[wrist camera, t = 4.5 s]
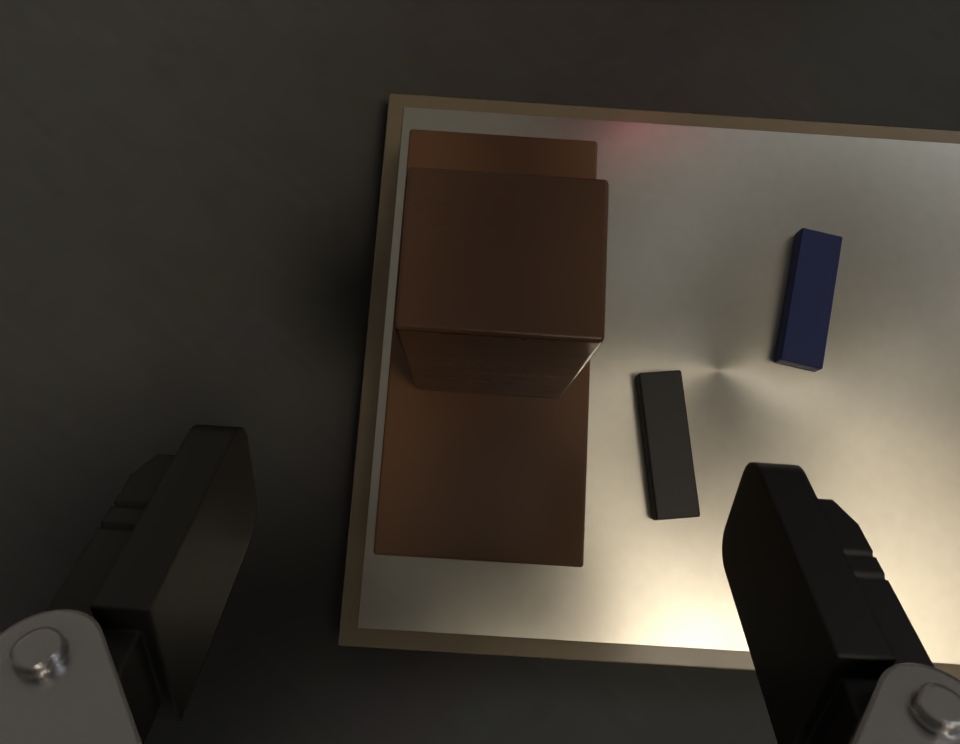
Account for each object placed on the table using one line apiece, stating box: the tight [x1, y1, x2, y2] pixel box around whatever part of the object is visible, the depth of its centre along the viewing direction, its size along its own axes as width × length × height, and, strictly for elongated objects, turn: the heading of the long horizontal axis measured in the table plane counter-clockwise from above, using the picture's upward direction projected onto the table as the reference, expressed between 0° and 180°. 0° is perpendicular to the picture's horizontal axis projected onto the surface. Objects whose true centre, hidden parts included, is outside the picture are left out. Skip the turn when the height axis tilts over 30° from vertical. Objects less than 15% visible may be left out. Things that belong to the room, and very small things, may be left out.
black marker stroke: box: [635, 370, 700, 520], centre depth 21 cm, size 1×4×1 cm, turn 4°
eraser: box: [373, 129, 609, 567], centre depth 17 cm, size 5×11×8 cm, turn 177°
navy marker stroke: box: [774, 228, 842, 372], centre depth 22 cm, size 1×4×1 cm, turn 167°
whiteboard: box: [338, 93, 960, 680], centre depth 22 cm, size 20×16×1 cm
